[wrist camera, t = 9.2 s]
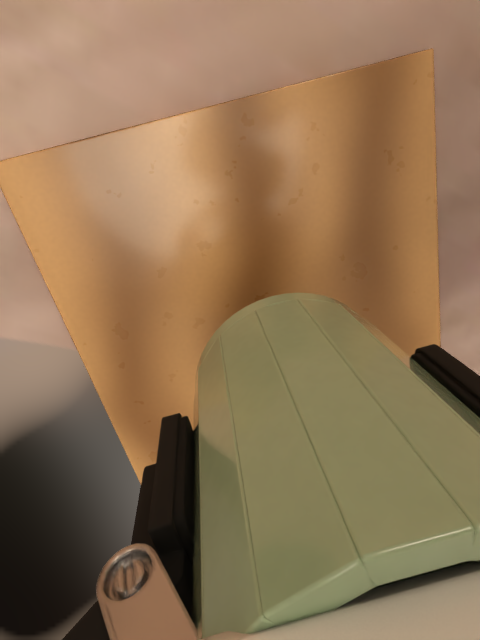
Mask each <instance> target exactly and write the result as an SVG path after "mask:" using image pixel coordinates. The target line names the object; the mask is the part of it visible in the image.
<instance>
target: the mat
mask: <svg viewBox="0 0 480 640" xmlns="http://www.w3.org/2000/svg"><path fill="white" fill-rule="evenodd" d="M0 187H1V190H2V192H3V194H4V196H5V198H6V200H7V202H8V204H9V206H10V209H11V211H12V213H13V215H14V217H15V219H16V221H17V223H18V226H19V228H20V230H21V232H22V234H23V236H24V238H25V240H26V242H27V245H28V247H29V249H30V251H31V253H32V255H33V257H34V259H35V261H36V264H37V266H38V268H39V270H40V272H41V274H42V276H43V278H44V281H45V283H46V285H47V287H48V289H49V291H50V293H51V295H52V297H53V300H54V302H55V304H56V306H57V308H58V310H59V312H60V314H61V316H62V319H63V321H64V323H65V325H66V327H67V329H68V331H69V333H70V336H71V338H72V340H73V342H74V344H75V346H76V348H77V350H78V352H79V355H80V357H81V359H82V361H83V363H84V365H85V367H86V369H87V371H88V374H89V376H90V378H91V380H92V382H93V384H94V386H95V388H96V390H97V393H98V395H99V397H100V399H101V401H102V403H103V405H104V407H105V409H106V412H107V414H108V416H109V418H110V420H111V422H112V424H113V426H114V429H115V431H116V433H117V435H118V437H119V439H120V441H121V443H122V446H123V447H124V450H125V452H126V454H127V456H128V458H129V460H130V462H131V464H132V466H133V469H134V471H135V473H136V475H137V477H138V479H139V481H140V484H141V482H142V476H143V471H144V468H145V467H146V466H148V465H152V464H156V460H157V452H158V444H159V436H160V428H161V421H162V418H163V417H166V416H170V415H173V414H177V413H180V414H181V416H182V417H184V416H188V418H189V421H190V423H191V426H192V429H193V412H194V396H195V376H196V371H197V366H198V362H199V360H200V357H201V354H202V352H203V350H204V348H205V346H206V344H207V342H208V341H209V340H210V338H211V337H212V335H213V334H214V333H215V331H216V330H217V329H218V328H219V327H220V326H221V325H222V324H223V323H224V322H225V321H226V320H227V319H229V318H230V317H231V316H232V315H234V314H235V313H236V312H238V311H240V310H241V309H243V308H244V307H246V306H248V305H250V304H252V303H254V302H256V301H259V300H262V299H265V298H268V297H271V296H275V295H280V294H285V293H313V294H318V295H323V296H327V297H330V298H333V299H336V300H338V301H340V302H342V303H344V304H346V305H347V306H349V307H350V308H352V309H353V310H354V311H356V312H357V313H358V314H359V315H360V316H361V317H363V318H365V319H366V320H368V321H370V322H371V323H372V324H373V325H374V326H375V327H377V328H378V329H379V330H380V331H381V332H382V333H383V334H385V335H386V336H387V337H388V338H389V339H390V340H391V341H393V342H394V343H395V344H396V345H397V346H398V347H399V348H401V349H402V350H403V351H404V352H405V353H406V354H407V355H409V356H410V357H411V355H412V354H415V350H416V349H417V348H421V347H424V346H428V345H432V344H436V345H438V346H439V347H441V345H440V303H439V261H438V220H437V178H436V136H435V95H434V53H433V49H432V48H431V49H428V50H424V51H420V52H416V53H412V54H408V55H405V56H401V57H397V58H393V59H389V60H385V61H382V62H378V63H374V64H370V65H366V66H362V67H359V68H355V69H351V70H347V71H343V72H339V73H336V74H332V75H328V76H324V77H320V78H316V79H313V80H309V81H305V82H301V83H297V84H293V85H289V86H286V87H282V88H278V89H274V90H270V91H266V92H263V93H259V94H255V95H251V96H247V97H243V98H240V99H236V100H232V101H228V102H224V103H220V104H217V105H213V106H209V107H205V108H201V109H197V110H194V111H190V112H186V113H182V114H178V115H174V116H171V117H167V118H163V119H159V120H155V121H151V122H148V123H144V124H140V125H136V126H132V127H128V128H125V129H121V130H117V131H113V132H109V133H105V134H101V135H98V136H94V137H90V138H86V139H82V140H78V141H75V142H71V143H67V144H63V145H59V146H55V147H52V148H48V149H44V150H40V151H36V152H32V153H29V154H25V155H21V156H17V157H13V158H9V159H6V160H2V161H0Z"/></svg>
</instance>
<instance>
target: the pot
mask: <svg viewBox="0 0 480 640" xmlns="http://www.w3.org/2000/svg"><path fill="white" fill-rule="evenodd" d="M470 561H480V418H479V417H478V416H477V415H476V414H475V413H474V412H472V411H471V410H470V409H469V408H468V407H467V406H466V405H464V404H463V403H462V402H461V401H460V400H459V399H458V398H456V397H455V396H454V395H453V394H452V393H451V392H450V391H448V390H447V389H446V388H445V387H444V386H443V385H442V384H440V383H439V382H438V381H437V380H436V379H435V378H434V377H432V376H431V375H430V374H429V373H428V372H427V371H426V370H425V369H423V368H422V367H421V366H420V365H419V364H418V363H417V362H415V361H414V360H413V359H412V358H411V357H410V356H409V355H407V354H406V353H405V352H404V351H403V350H402V349H401V348H399V347H398V346H397V345H396V344H395V343H394V342H393V341H391V340H390V339H389V338H388V337H387V336H386V335H385V334H383V333H382V332H381V331H380V330H379V329H378V328H377V327H375V326H374V325H373V324H372V323H371V322H370V321H368V320H366V319H365V318H363V317H361V316H360V315H359V314H358V313H357V312H356V311H354V310H353V309H352V308H350V307H349V306H347V305H346V304H344V303H342V302H340V301H338V300H336V299H333V298H330V297H327V296H323V295H318V294H313V293H285V294H280V295H275V296H271V297H268V298H265V299H262V300H259V301H256V302H254V303H252V304H250V305H248V306H246V307H244V308H243V309H241V310H240V311H238V312H236V313H235V314H234V315H232V316H231V317H230V318H229V319H227V320H226V321H225V322H224V323H223V324H222V325H221V326H220V327H219V328H218V329H217V330H216V331H215V333H214V334H213V335H212V337H211V338H210V340H209V341H208V342H207V344H206V346H205V348H204V350H203V352H202V354H201V357H200V360H199V362H198V366H197V371H196V376H195V396H194V412H193V623H194V625H195V627H196V629H197V640H199V639H202V638H206V637H209V636H212V635H215V634H219V633H222V632H225V631H231V632H238V633H242V634H249V633H254V632H258V631H261V630H265V629H268V628H272V627H275V626H279V625H282V624H286V623H289V622H293V621H296V620H300V619H303V618H307V617H310V616H314V615H317V614H321V613H324V612H327V611H331V610H334V609H337V608H339V607H341V606H343V605H345V604H346V603H348V602H350V601H352V600H353V599H355V598H357V597H359V596H361V595H362V594H364V593H366V592H368V591H369V590H371V589H374V588H377V587H381V586H384V585H388V584H391V583H395V582H398V581H402V580H406V579H409V578H413V577H416V576H420V575H424V574H427V573H431V572H434V571H438V570H441V569H445V568H449V567H452V566H456V565H459V564H463V563H467V562H470Z"/></svg>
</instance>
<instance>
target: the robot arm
mask: <svg viewBox="0 0 480 640" xmlns="http://www.w3.org/2000/svg"><path fill="white" fill-rule="evenodd" d="M411 358H412V359H413V360H414V361H415V362H417V363H418V364H419V365H420V366H421V367H422V368H423V369H425V370H426V371H427V372H428V373H429V374H430V375H431V376H432V377H434V378H435V379H436V380H437V381H438V382H439V383H440V384H442V385H443V386H444V387H445V388H446V389H447V390H448V391H450V392H451V393H452V394H453V395H454V396H455V397H456V398H458V399H459V400H460V401H461V402H462V403H463V404H464V405H466V406H467V407H468V408H469V409H470V410H471V411H472V412H474V413H475V414H476V415H477V416H478V417H479V418H480V376H479V375H478V374H476V373H475V372H473V371H472V370H471V369H469V368H468V367H467V366H465V365H464V364H463V363H461V362H460V361H458V360H457V359H456V358H454V357H453V356H452V355H450V354H449V353H447V352H446V351H445V350H443V349H442V348H441V347H439V346H438V345H436V344H432V345H428V346H424V347H421V348H417V349H416V350H415V354H412V355H411ZM96 590H97V591H96V592H97V598H98V601H97V602H96V603H95V604H94V605H93V606H92V607H91V608H90V609H89V611H88V612H87V613H86V614H85V615H84V616H83V617H82V618H81V619H80V620H79V622H78V623H77V624H76V625H75V626H74V627H73V628H72V629H71V630H70V632H69V633H68V634H67V635H66V636H65V637H64V638H63V640H197V629H196V627H195V625H194V623H193V429H192V426H191V423H190V421H189V418H188V416H184V417H182V416H181V414H180V413H177V414H173V415H170V416H166V417H163V418H162V421H161V428H160V436H159V444H158V452H157V460H156V464H152V465H148V466H146V467H145V468H144V471H143V476H142V482H141V488H140V494H139V501H138V506H137V512H136V518H135V525H134V530H133V536H132V542H131V545H130V546H127V547H125V548H123V549H122V550H120V551H118V552H117V553H116V554H115V555H114V556H113V557H112V558H110V559H109V561H108V562H107V564H106V565H105V566H104V567H103V569H102V571H101V573H100V575H99V577H98V581H97V586H96ZM199 640H480V561H470V562H467V563H463V564H459V565H456V566H452V567H449V568H445V569H441V570H438V571H434V572H431V573H427V574H424V575H420V576H416V577H413V578H409V579H406V580H402V581H398V582H395V583H391V584H388V585H384V586H381V587H377V588H374V589H371V590H369V591H368V592H366V593H364V594H362V595H361V596H359V597H357V598H355V599H353V600H352V601H350V602H348V603H346V604H345V605H343V606H341V607H339V608H337V609H334V610H331V611H327V612H324V613H321V614H317V615H314V616H310V617H307V618H303V619H300V620H296V621H293V622H289V623H286V624H282V625H279V626H275V627H272V628H268V629H265V630H261V631H258V632H254V633H249V634H242V633H238V632H231V631H225V632H222V633H219V634H215V635H212V636H209V637H206V638H202V639H199Z"/></svg>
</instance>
